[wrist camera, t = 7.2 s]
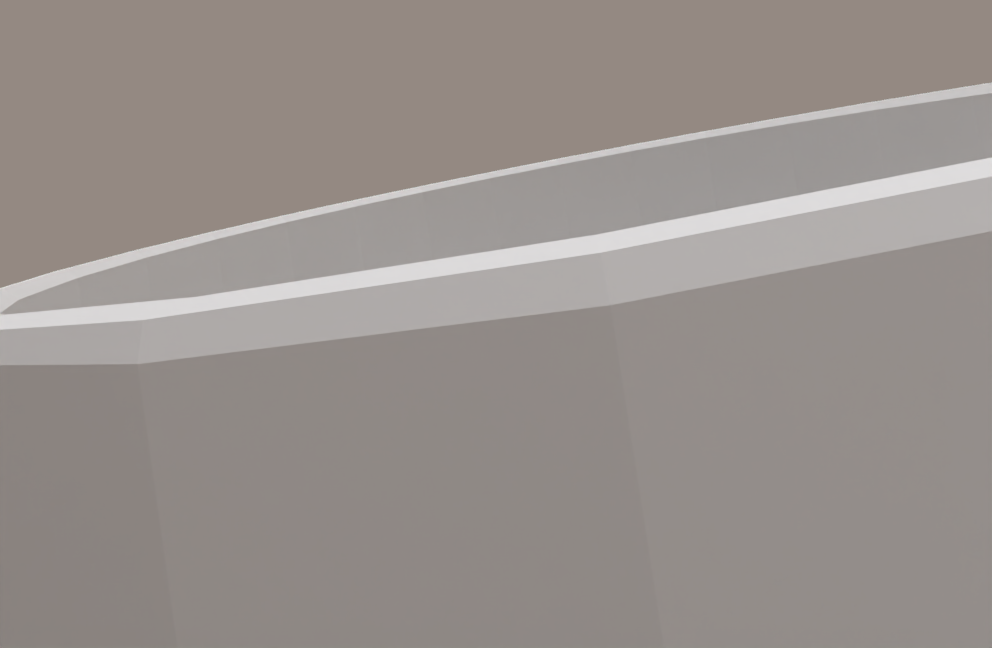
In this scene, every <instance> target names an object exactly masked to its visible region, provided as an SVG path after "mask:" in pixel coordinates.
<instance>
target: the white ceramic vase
mask: <svg viewBox="0 0 992 648" xmlns="http://www.w3.org/2000/svg"><path fill="white" fill-rule="evenodd" d="M0 648H992V83H986V84H980V85H974V86H967V87H961V88H955V89H949V90H942V91H937V92H931V93H924V94H918V95H912V96H906V97H900V98H893V99H887V100H881V101H876V102H870V103H863V104H857V105H852V106H846V107H840V108H835V109H828V110H822V111H816V112H811V113H805V114H799V115H793V116H788V117H782V118H776V119H771V120H765V121H760V122H753V123H748V124H743V125H737V126H731V127H725V128H720V129H714V130H709V131H703V132H698V133H692V134H687V135H682V136H676V137H671V138H665V139H660V140H655V141H649V142H643V143H638V144H633V145H628V146H622V147H617V148H612V149H607V150H601V151H596V152H591V153H585V154H580V155H575V156H570V157H564V158H559V159H554V160H549V161H544V162H539V163H534V164H528V165H524V166H519V167H513V168H508V169H503V170H498V171H493V172H488V173H483V174H478V175H473V176H468V177H464V178H458V179H454V180H449V181H443V182H439V183H434V184H429V185H424V186H419V187H414V188H409V189H405V190H400V191H395V192H390V193H385V194H381V195H376V196H371V197H366V198H362V199H357V200H352V201H348V202H343V203H338V204H334V205H329V206H324V207H320V208H315V209H311V210H306V211H301V212H297V213H292V214H288V215H283V216H279V217H274V218H270V219H265V220H261V221H257V222H252V223H248V224H244V225H239V226H235V227H231V228H226V229H222V230H217V231H213V232H208V233H205V234H200V235H196V236H192V237H188V238H184V239H180V240H175V241H171V242H167V243H163V244H159V245H155V246H151V247H147V248H142V249H138V250H135V251H130V252H126V253H123V254H119V255H116V256H111V257H107V258H104V259H100V260H96V261H92V262H89V263H85V264H81V265H78V266H74V267H70V268H66V269H62V270H58V271H55V272H51V273H48V274H45V275H41V276H38V277H35V278H31V279H28V280H25V281H22V282H19V283H16V284H12V285H9V286H6V287H2V288H0Z"/></svg>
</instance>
